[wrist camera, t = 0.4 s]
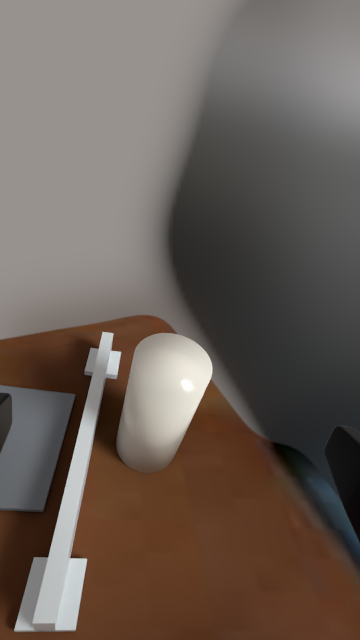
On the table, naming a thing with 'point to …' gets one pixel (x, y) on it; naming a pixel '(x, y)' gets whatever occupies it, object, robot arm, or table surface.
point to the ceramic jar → (160, 400)
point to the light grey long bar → (68, 519)
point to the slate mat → (32, 447)
